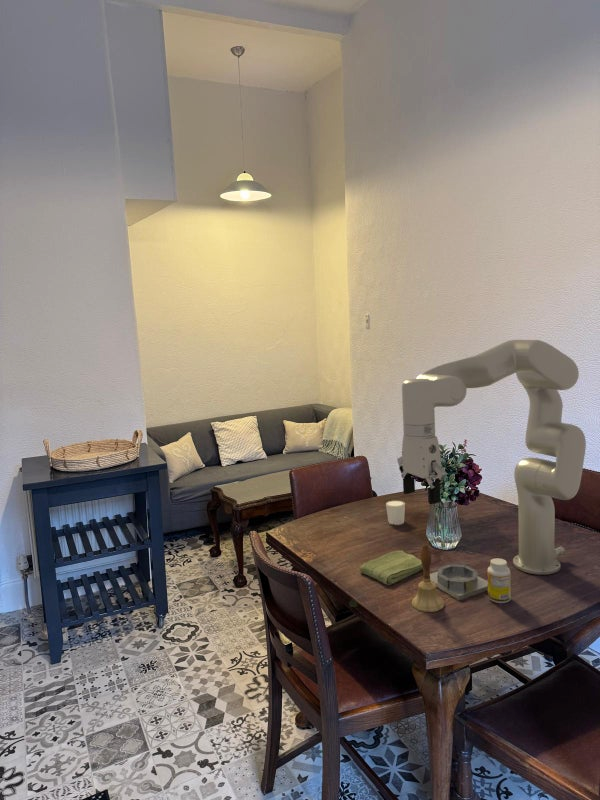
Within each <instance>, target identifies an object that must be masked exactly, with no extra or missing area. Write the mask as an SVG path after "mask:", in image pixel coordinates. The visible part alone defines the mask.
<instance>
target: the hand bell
mask: <svg viewBox="0 0 600 800" xmlns="http://www.w3.org/2000/svg"><path fill="white" fill-rule="evenodd" d="M420 560H421V562H422V565H423V570H422V571H423V572H422V573H423V576H422V578H423V579H422V581H420V582H419V583H418V584H417V585H418V588H417V592H416V595H415V597H414V598H412V601H411V606H412V607H413V608H414V609H415V610H417V611H420V612H425V613H433V612H435V613H436V612H438V611H440V610H442V609H444V607H445V605H446V604H445V601H444V600H443V599H442V597H440V596H439V593H438V588H437V587H436V584H435V583H434V582H432V581H430V574H431V573H430V571H431V569H430V567H431V563H432V552H431V551H430V548H429V544H427V543H423V544H422V548H421V549H420Z"/></svg>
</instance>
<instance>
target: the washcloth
mask: <svg viewBox="0 0 600 800" xmlns="http://www.w3.org/2000/svg"><path fill="white" fill-rule="evenodd" d="M359 571H360V573H361V574H363V575H366V576H368V577H370V578H373V579H375V580H377V581H378V582H381V583H382V584H384V585H388V586H391V585H393V584H396V583H398V582H400V581H402V580H405V579H407V578H409V577H410V576H412V575H415V574H417V573H418V572H420V571H423V565H422V562H421V558H420V559H419V558H418V557H416V556H415V555H413V554H411V553H410V554H409V553H406V552H405V551H403V550H395V551H390V552H388V553H385V554H383V555H381V556H379V557H378V558H377V557H376V558H375V559H371V560H369V561H366V562H363V564H361V565H360V567H359Z"/></svg>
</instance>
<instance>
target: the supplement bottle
mask: <svg viewBox="0 0 600 800" xmlns="http://www.w3.org/2000/svg"><path fill="white" fill-rule="evenodd" d="M489 565H490V566H488V568H487V581H488V590H487V597H488V599H489V600H490V601H491V602H493V603H496V604H506V603H508V602H510V601H511V596H512V595H511V592H512V591H511V590H512V589H511V569H510V568H509V567H508V562H507V560H505V559H503V558H492V559H490V564H489Z"/></svg>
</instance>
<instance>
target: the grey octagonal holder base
mask: <svg viewBox="0 0 600 800" xmlns="http://www.w3.org/2000/svg"><path fill="white" fill-rule="evenodd" d="M430 581H432V582H434V583H435V584H436V589H437V590H440V591H442V592H444V593H445V594H447V595H448V596H451V597H452V598H454V599H456V600H457V601H462V600H464V599H467V598H469V597H472V596H475V595H478V594H481V593H483V592H488V580H487V579H484V578H482V577H480V576H479V573H478V571H477V570H476V569H474V568H473V567H470V566H468V565H465V564H447V565H443V566H440V567H439V568H438V569H437V571H435V572H432V573H430Z"/></svg>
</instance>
